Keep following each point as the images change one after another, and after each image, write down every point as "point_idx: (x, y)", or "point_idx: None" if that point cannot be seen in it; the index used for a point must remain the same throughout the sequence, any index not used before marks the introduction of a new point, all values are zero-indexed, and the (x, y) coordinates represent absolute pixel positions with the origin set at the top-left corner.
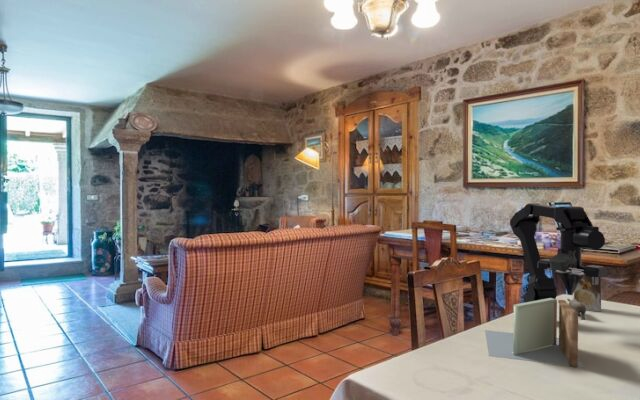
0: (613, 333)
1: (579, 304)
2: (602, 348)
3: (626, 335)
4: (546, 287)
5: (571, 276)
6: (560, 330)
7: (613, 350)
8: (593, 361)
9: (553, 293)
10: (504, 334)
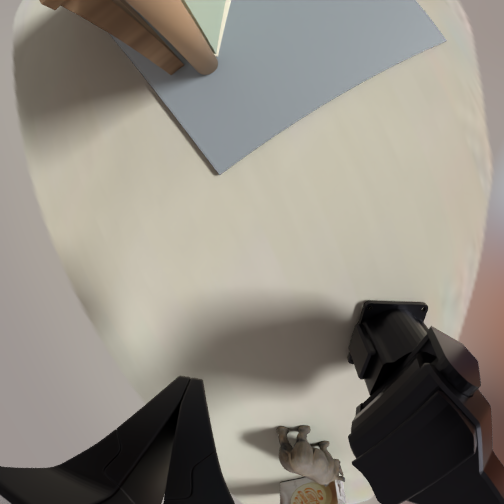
0: (170, 381)
1: (295, 465)
2: (102, 205)
3: (145, 384)
4: (405, 436)
5: (32, 488)
6: (142, 23)
7: (81, 217)
8: (78, 65)
9: (362, 432)
10: (386, 33)
